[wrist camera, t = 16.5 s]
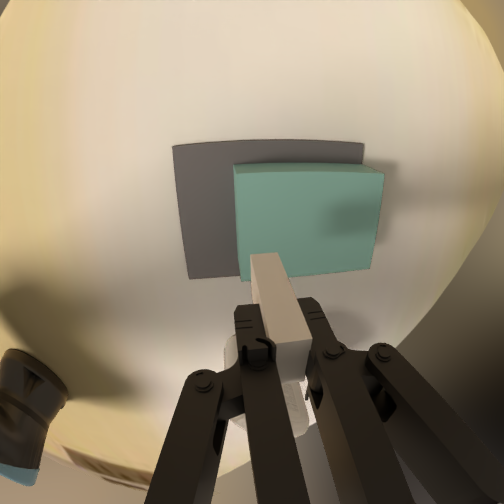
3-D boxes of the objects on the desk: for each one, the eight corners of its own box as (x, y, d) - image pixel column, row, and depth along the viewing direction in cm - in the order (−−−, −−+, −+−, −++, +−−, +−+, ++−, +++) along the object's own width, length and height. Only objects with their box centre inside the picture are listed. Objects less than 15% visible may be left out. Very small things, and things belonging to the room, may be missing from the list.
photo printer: (217, 346, 32) (222, 435, 21) (240, 326, 31) (252, 420, 20) (274, 373, 36) (291, 448, 25) (296, 357, 35) (320, 435, 24)
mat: (189, 277, 27) (189, 279, 27) (172, 146, 21) (172, 146, 21) (348, 264, 29) (349, 265, 28) (361, 143, 22) (363, 143, 22)
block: (241, 281, 23) (369, 268, 24) (236, 173, 18) (384, 173, 20) (237, 258, 26) (352, 249, 27) (233, 164, 22) (362, 164, 23)
